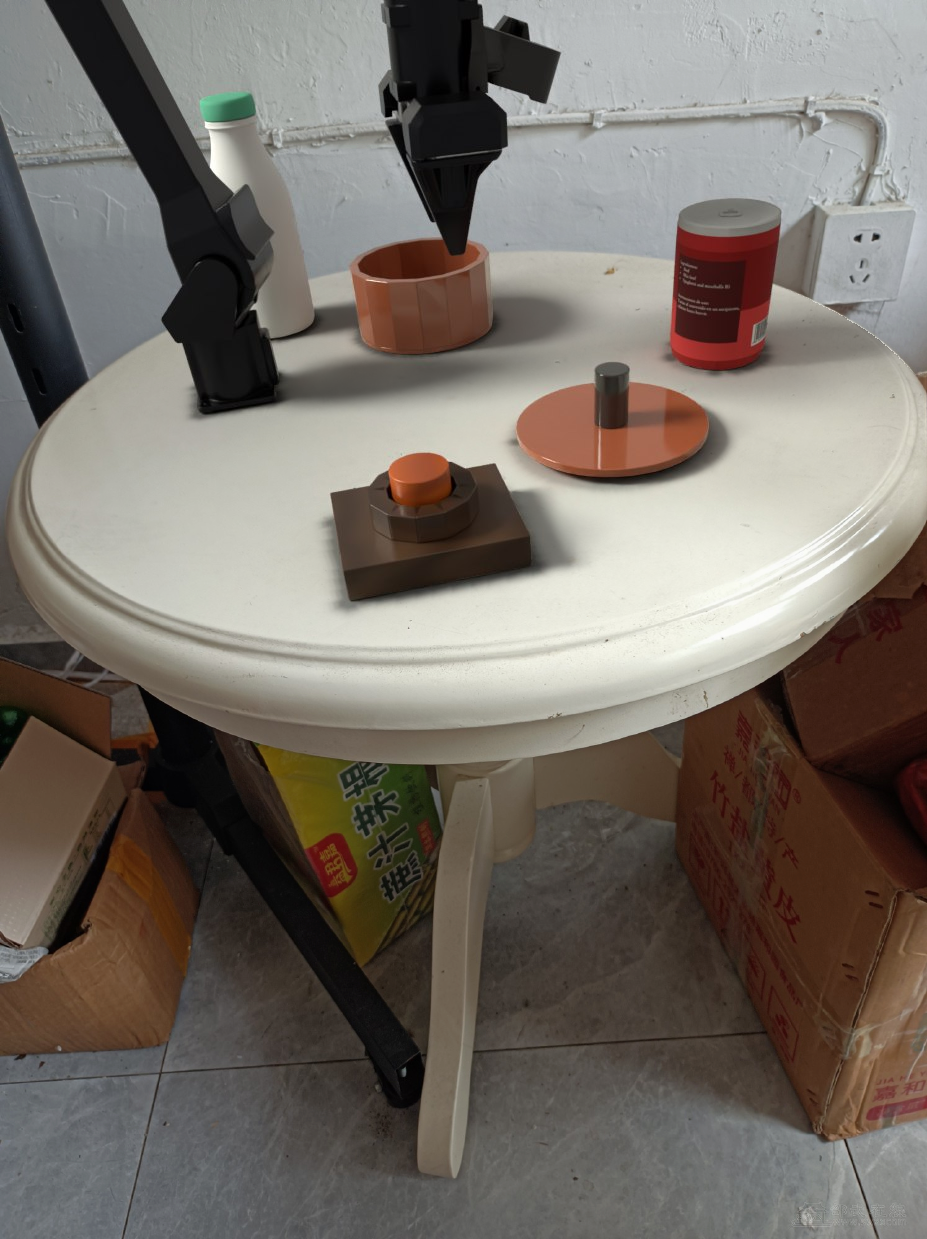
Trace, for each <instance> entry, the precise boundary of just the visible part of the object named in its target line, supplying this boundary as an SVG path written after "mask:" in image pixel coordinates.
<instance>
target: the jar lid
mask: <svg viewBox="0 0 927 1239" xmlns="http://www.w3.org/2000/svg"><path fill="white" fill-rule="evenodd" d="M630 370H631V369H630V366H629V365H628V364H627V363H624V362H620V361H607V362H601V363H600V364H598V365H596V366H595V368H594V370H593V371H594V381H593V382H588V383H581V384H576V385H571V386H568V387H564V388H561V389H557V390H555V391H552V392H550V393H548V394H545V395H543V396H541V397H539V398H538V399H536V400H534V401H533V402H532V403H530V404H529V405H528V406H527V407H525V409H524V410H523V411H522V412H521V413H520V415H519V417H518V419H517V421H516V426H515V428H516V429H515V432H516V433H515V434H516V440H517V443H518V445H519V446H520V448H521V450H522V451H523V452H524V453H525V454H526V455H528V457H530V458H531V459H532V460H534V461H536V462H537V463H540V464H542V465H543V466H545V467H547V468H550V469H554V470H557V471H559V472H562V473H567V474H573V475H577V476H586V477H593V478H594V477H596V478H620V477H622V478H624V477H633V476H640V475H646V474H650V473H651V474H652V473H655V472H659V471H662V470H666V469H668V468H671V467H673V466H677V465H679V464H681V463H683V462H684V461H686V460H688V459H690V458H691V457H693V456H694V455H695V454H697V452H698V451H699V450H701V449H702V447H703V446H704V444H705V443H706V441H707V438H708V435H709V426H710V421H709V417H708V414H707V413H706V411H705V410H704V409H703V407H702V406H701V405H700V404H699V403H698V402H697V401H696V400H694V399H692V398H690V397H689V396H688V395H686V394H683V393H681V392H679V391H676V390H674V389H671V388H668V387H664V386H660V385H656V384H650V383H643V382H635V381H630V377H631V376H630V373H631V371H630Z"/></svg>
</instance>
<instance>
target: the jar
mask: <svg viewBox="0 0 927 1239" xmlns="http://www.w3.org/2000/svg"><path fill="white" fill-rule="evenodd" d="M348 268H349V269H348V270H349V274H350V281H351V286H352V287H351V288H352V293H353V299H354V305H355V311H356V316H357V323H358V328H359V332H360V336H361V340H362V342H363V343H365V345H367V346H368V347H370V348H372V349H374V350H377V351H380V352H384V353H389V354H398V355H422V354H423V355H424V354H433V353H440V352H444V351H450V350H454V349H456V348H457V349H458V348H460V347H463V346H466V345H469V344H471V343H473V342H476V341H477V340H479V339H481V338H483V337H484V336H485V335H486V334H487V333H488V332H489V331H490V330H491V328H492V326H493V319H494V306H493V292H492V291H493V290H492V276H491V262H490V252H489V250H488V249H487V248H486V247H485V245H484V244H483V243H480V242H477V241H473V240H471V239H467V245H466V251H465V253H464V254H463V255H457V256H451V255H450V254H449V252H448V250H447V247H446V245H445V243H444V241H443V238H442V236H437V237H419V238H412V239H405V240H399V241H394V242H390V243H386V244H384V245H380V246H375V247H373V248H371V249H368V250H367V251H365V252H362V253H361V254H358V255H356V256H355V258H354V259H353V260H352V261H351V262H350V263H349V264H348Z"/></svg>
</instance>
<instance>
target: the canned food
mask: <svg viewBox="0 0 927 1239" xmlns="http://www.w3.org/2000/svg"><path fill="white" fill-rule="evenodd" d="M676 224H677V225H676V235H675V250H674V251H675V252H674V253H675V254H674V264H673V266H674V267H673V268H674V269H673V282H672V283H673V285H672V302H671V316H670V332H669V345H670V350H671V354H672V356H673V358H675V360H676V361H677V362H680V363H682V364H683V365H686V366H688V367H690V368H694V369H695V368H696V369H699V370H708V371H726V370H734V369H737V368H742V367H745V366H747V365H749V364H751V363H753V362H754V361H756V360H757V359H758V357H759V356H760V355H761V352H762V351H763V349H764V347H765V342H766V334H767V328H768V320H769V315H770V314H769V313H770V306H771V300H772V293H773V286H774V278H775V270H776V264H777V257H778V250H779V242H780V235H781V228H782V227H781V226H782V210H781V208H780V207H778V205H776V204H773V203H771V202H768V201H764V200H761V199H755V198H744V197H743V198H742V197H741V198H740V197H734V198H733V197H729V198H727V197H726V198H714V199H710V200H709V199H708V200H703V201H700V202H696V203H692V204H689V205H688V206H686V207H684V208H683V209H681V210H680V211H679V213H678V219H677V222H676Z"/></svg>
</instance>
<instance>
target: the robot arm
mask: <svg viewBox="0 0 927 1239" xmlns="http://www.w3.org/2000/svg"><path fill="white" fill-rule="evenodd" d="M43 1H44V3H45V4H46V5H45V6H47V8H48V10H49V12H50V14H51V15H52V17H53V18H54V21H55V22H56V24H57V25H58V27H59V30H60V31H61V33H62V35H63V36H64V38H65V40H66V42H67V43H68V45H69V47H70V49H71V50H72V53H73V54H74V56H75V57H76V59H77V61H78V63H79V64H80V67H81V68H82V70H83V71H84V73H85V75H86V77H87V79H88V80H89V82H90V84H91V86H92V88H93V89H94V91H95V93H96V94H97V96H98V98H99V100H100V102H101V104H102V105H103V107H104V109H105V110H106V112H107V114H108V116H109V117H110V119H111V121H112V122H113V124H114V126H115V128H116V130H117V132H118V133H119V135H120V137H121V138H122V141H123V142H124V145H126V147H127V150H128V151H129V152H130V154H131V156H132V157H133V160H134V162H135V163H136V165H137V167H138V169H139V170H140V172H141V174H142V175H143V177H144V179H145V182H146V183H147V184H148V186H149V188H150V189H151V191H152V193H153V196H154V197H155V199H156V202H157V205H158V208H159V214H160V219H161V223H162V228H163V235H164V239H165V244H166V250H167V251H168V254H169V257H170V259H171V261H172V264H173V267H174V269H175V271H176V274H177V277H178V279H179V282H180V284H181V286H180V288H179V290H178V291H177V292H176V294H175V296H174V297H173V299H172V301H171V302H170V304H169V305H168V307H167V308H166V310H165V312H164V313H163V315H162V317H160V320H161V324H162V325H163V327H164V328H165V329H166V331H167V332H168V334H169V335H170V337H171V338H172V340H173V341H174V342H175V343H176V344H181V345H182V348H183V352H184V355H185V358H186V361H187V365H188V368H189V371H190V375H191V379H192V381H193V384H194V387H195V388H194V389H195V391H196V394H197V400H196V402H197V403H196V408H197V411H198V413H201V414H202V413H208V412H214V411H219V410H226V409H233V408H239V407H246V406H250V405H257V404H263V403H268V402H273V401H275V400H276V399H277V393H276V386H278V385H279V384H280V376H279V375H280V374H279V368H278V364H277V361H276V360H277V359H276V356H275V351H274V348H273V343H272V338H270V334H269V330H268V329H267V328H266V327H264V328H261V327H260V323H259V318H258V314H257V310H250V309H251V308H252V306H253V305H254V304H256V302H257V301H258V294H259V290H260V288H261V287H262V285H263V284H264V282H265V281H266V279H267V278H268V276H269V275H270V273H271V269H272V265H273V261H274V253H273V248H272V245H271V242H270V239H271V237H272V236H273V235H274V231H273V230H272V229H271V228H270V227H269V226H268V225H267V224H266V223H265V221H264V219H263V218H262V216H261V215H260V212H259V210H258V208H257V204H256V201H255V198H254V195H253V193H252V191H251V189H250V187H249V185H247V184H244V185H243V186H242V187H240V188H239V189H238V190H236V191H235V192H233V191H232V190H231V189H230V188H229V187H227V186H226V185H225V184H224V183H223V182H222V181H221V180H220V179H219V178H218V177H217V176H216V175H215V174H214V172H213V171H212V170H211V168H210V164H209V163H208V161H207V160H206V157H205V155H204V153H203V151H202V149H201V148H200V146H199V143H198V142H197V140H196V138H195V137H194V135H193V133H192V130H191V129H190V127H189V125H188V123H187V121H186V119H185V117H184V115H183V113H182V112H181V110H180V108H179V106H178V104H177V102H176V100H175V98H174V96H173V94H172V92H171V90H170V88H169V86H168V85H167V83H166V81H165V79H164V77H163V75H162V73H161V71H160V70H159V67H158V65H157V63H156V62H155V59H154V58H153V56H152V54H151V52H150V50H149V48H148V46H147V44H146V42H145V40H144V38H143V36H142V35H141V33H140V31H139V29H138V26H137V25H136V23H135V21H134V19H133V18H132V15H131V13H130V12H129V9H128V8H127V6H126V4H125V2H124V0H43ZM483 8H484V7H483V5H482V4H481V3H479V0H383V3H380V11H381V13H380V14H381V21H382V23H383V24H385V27H386V37H387V45H388V54H389V65H390V69H388V70H386V73H384V76H382V78H381V80H380V81H379V83H378V85H377V87H378V95H379V104H380V113H381V114H382V116H383V117H384V118H385V120H384V124H385V126H386V128H387V131H388V132H389V135H390V137H391V139H392V141H393V143H394V145H395V147H396V150H397V152H398V154H399V156H400V158H401V161H402V163H403V165H404V167H405V170H406V172H407V173H408V176H409V178H410V180H411V182H412V184H413V186H414V189H415V191H416V193H417V195H418V198H419V199H420V200H419V201H420V202H421V204H422V206H423V209H424V211H425V213H426V215H427V217H428V219H429V221H430V222H431V223H433V224H434V223H435V225H436V227H437V229H438V231H439V235H440V237H442V238H443V241H444V243H445V245H446V247H447V250H448V252H449V254H450V255H451V256H457V255H463V254H464V253H465V251H466V245H467V239H468V238H469V232H470V227H471V222H472V214H473V208H474V203H475V198H476V192H477V187H478V182H479V179H480V177H481V175H482V174H483V173H484V172H485V171H486V170H487V169H488V167H489V166H490V165H491V164H492V163H493V162H494V161H497V160H498V159H499V158H500V157H501V155H502V153H503V149H505V148H508V147H509V137H508V136H509V133H508V113H507V111H505V109H503V108H502V106H500V105H499V104H498V103H497V102H496V101H495V100H494V98H492V97H491V96H489V84H491V85H494V86H496V87H499V88H503V89H505V90H509V91H513V92H515V93H518V94H521V95H525V96H528V98H529V100H530V101H533V102H536V103H540V104H543V105H546V104H548V100H549V96H550V92H551V89H552V86H553V83H554V80H555V75H556V72H557V68H558V66H559V62H560V58H561V54H562V52H561V51H559V50H557V49H554V48H552V47H549V46H547V45H543V44H541V43H538V42H535V41H532V40H531V37H530V29H529V28H530V27H529V23H528V22H526V21H524V20H520V19H517V18H515V17H511V16H509V15H506V14H503V16H502V17H501V18H500V20H498V22H497V23H496V24H495V26H494V27H490V26H487V25H484V24H485V23H484V9H483ZM393 112H394V113H395V118H392V117H393ZM468 240H469V239H468Z"/></svg>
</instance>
